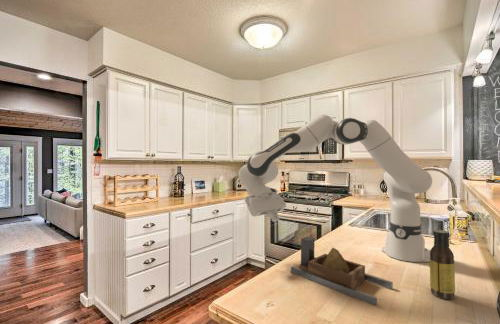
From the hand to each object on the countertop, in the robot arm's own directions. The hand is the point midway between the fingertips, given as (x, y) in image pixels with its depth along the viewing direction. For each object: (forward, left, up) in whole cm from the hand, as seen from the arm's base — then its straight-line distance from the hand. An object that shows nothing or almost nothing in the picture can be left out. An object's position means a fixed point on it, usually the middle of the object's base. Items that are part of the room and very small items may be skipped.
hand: (276, 220), depth 111 cm
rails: (0, +28, -16) cm, 32 cm away
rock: (0, +27, -16) cm, 32 cm away
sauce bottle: (-14, +55, -16) cm, 59 cm away
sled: (0, +24, -15) cm, 29 cm away
